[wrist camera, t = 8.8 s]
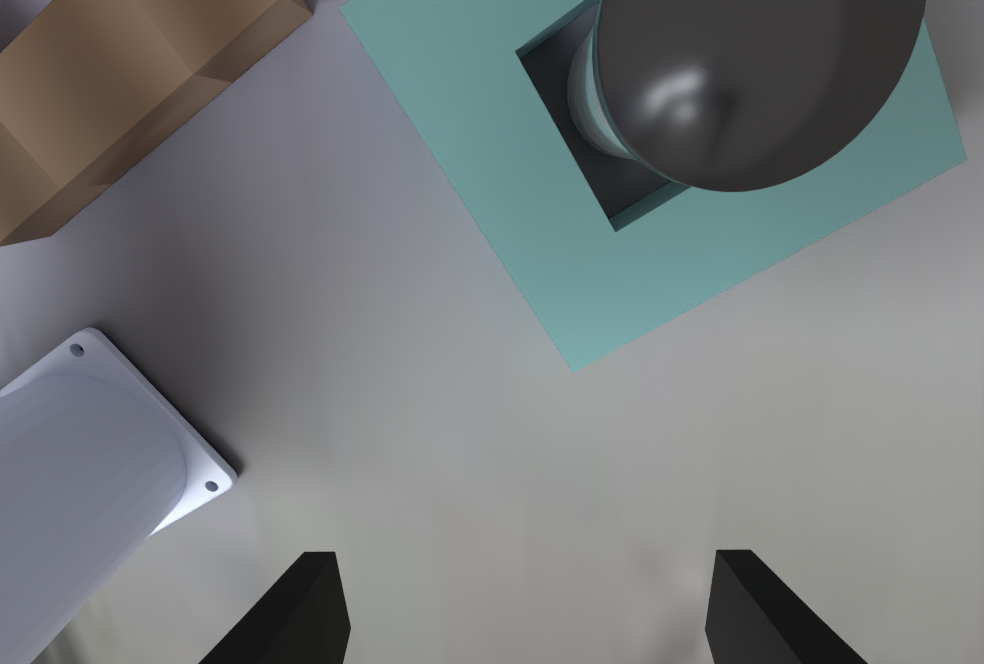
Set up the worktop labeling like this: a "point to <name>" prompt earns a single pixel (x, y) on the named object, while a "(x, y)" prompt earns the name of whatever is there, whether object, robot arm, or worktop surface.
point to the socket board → (572, 204)
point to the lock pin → (737, 83)
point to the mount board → (114, 92)
